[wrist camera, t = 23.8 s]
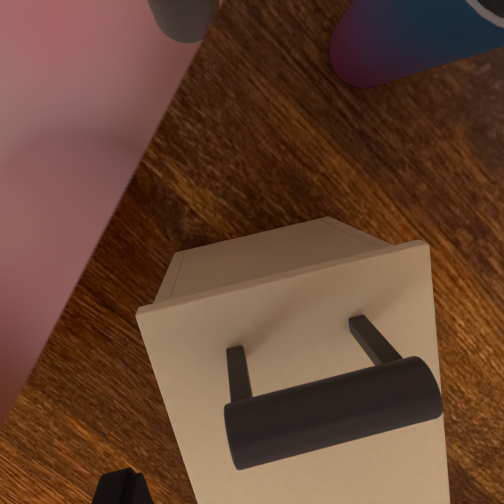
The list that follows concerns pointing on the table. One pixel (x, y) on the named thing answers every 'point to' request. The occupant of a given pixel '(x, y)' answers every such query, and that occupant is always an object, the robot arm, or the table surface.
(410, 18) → the cup
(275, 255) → the cardboard box
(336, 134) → the table surface
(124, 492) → the robot arm
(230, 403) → the lid
